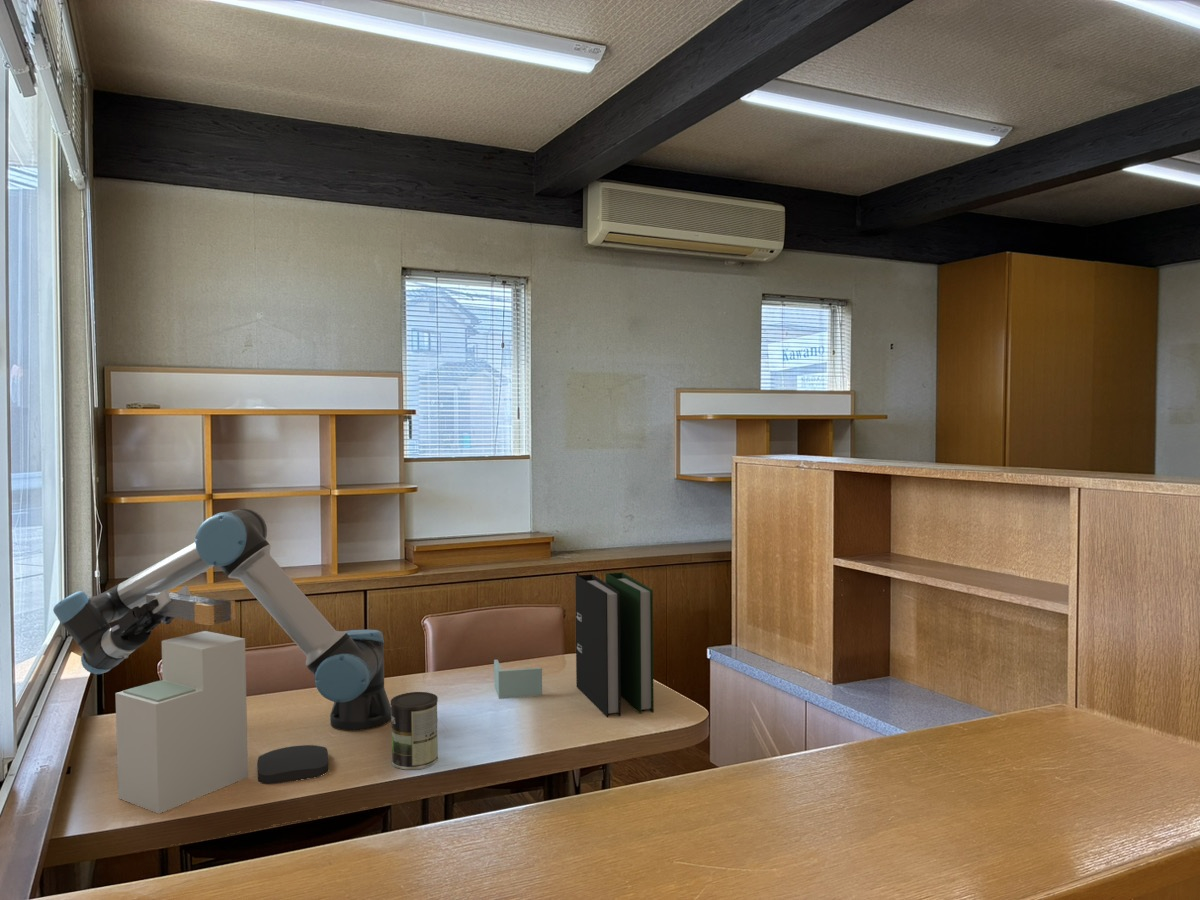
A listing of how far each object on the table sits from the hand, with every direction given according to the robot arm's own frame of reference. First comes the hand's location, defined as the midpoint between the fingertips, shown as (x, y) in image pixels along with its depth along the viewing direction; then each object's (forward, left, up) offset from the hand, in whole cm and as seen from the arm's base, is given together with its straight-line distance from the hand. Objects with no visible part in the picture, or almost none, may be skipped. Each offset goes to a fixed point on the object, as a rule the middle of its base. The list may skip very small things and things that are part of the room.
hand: (177, 593), depth 186 cm
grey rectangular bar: (-3, +2, -5) cm, 6 cm away
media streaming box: (-24, -2, -40) cm, 46 cm away
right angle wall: (-67, -56, -39) cm, 96 cm away
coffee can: (-50, -6, -39) cm, 64 cm away
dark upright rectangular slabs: (-94, -48, -39) cm, 113 cm away
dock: (-5, +8, -39) cm, 40 cm away
